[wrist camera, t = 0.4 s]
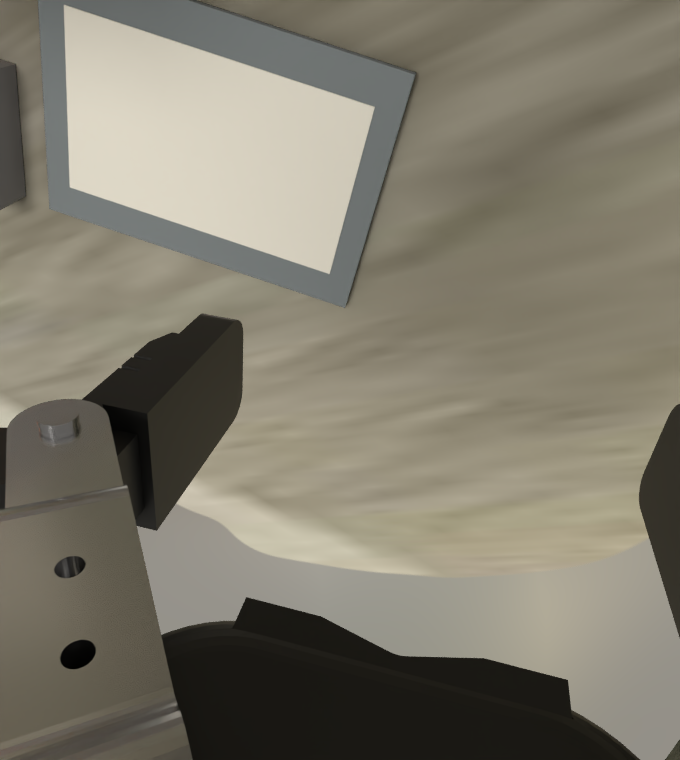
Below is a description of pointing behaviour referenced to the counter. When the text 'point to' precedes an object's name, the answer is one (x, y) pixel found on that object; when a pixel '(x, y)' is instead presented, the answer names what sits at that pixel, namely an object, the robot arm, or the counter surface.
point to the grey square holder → (10, 138)
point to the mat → (218, 136)
